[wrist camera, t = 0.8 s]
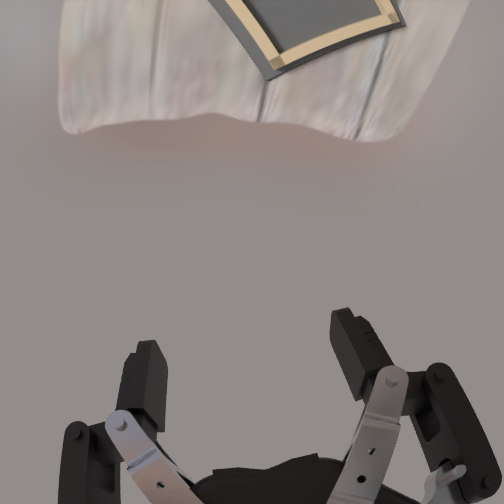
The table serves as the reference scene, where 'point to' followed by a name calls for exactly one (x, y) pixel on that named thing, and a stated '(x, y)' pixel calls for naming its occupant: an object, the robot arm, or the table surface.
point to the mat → (302, 27)
